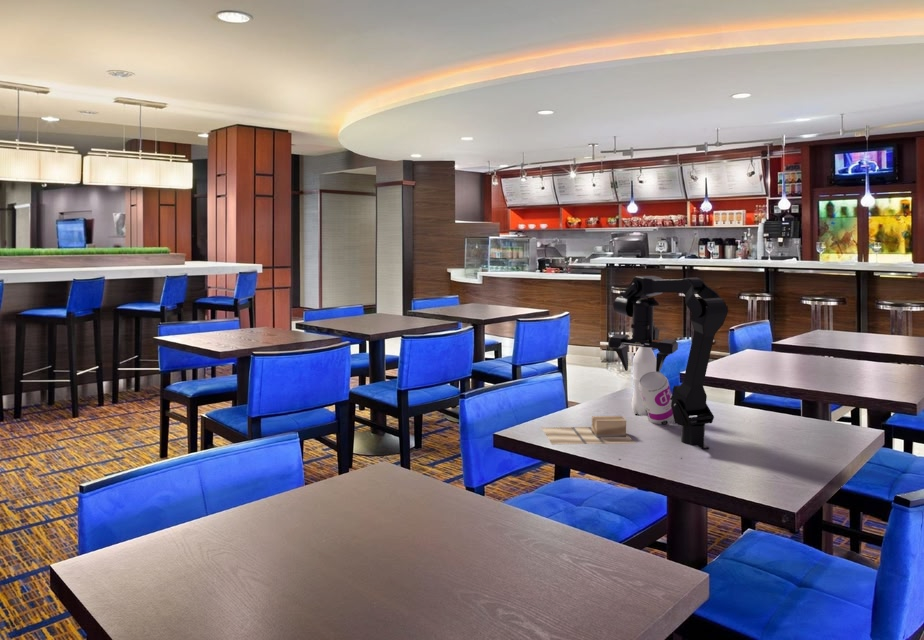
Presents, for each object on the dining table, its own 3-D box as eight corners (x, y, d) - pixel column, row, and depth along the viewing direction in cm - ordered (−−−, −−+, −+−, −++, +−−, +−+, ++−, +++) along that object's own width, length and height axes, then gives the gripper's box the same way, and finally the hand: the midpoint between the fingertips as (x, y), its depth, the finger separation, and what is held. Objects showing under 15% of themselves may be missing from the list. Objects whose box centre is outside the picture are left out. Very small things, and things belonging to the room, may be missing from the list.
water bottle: (657, 417, 206) (660, 336, 203) (634, 417, 206) (636, 336, 204) (651, 411, 213) (654, 333, 211) (629, 411, 213) (631, 333, 211)
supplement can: (683, 417, 195) (673, 378, 187) (660, 432, 193) (649, 393, 185) (664, 404, 201) (654, 366, 194) (642, 418, 200) (631, 380, 192)
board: (635, 447, 175) (635, 442, 175) (551, 448, 174) (551, 444, 174) (618, 430, 191) (618, 426, 191) (541, 431, 190) (541, 427, 190)
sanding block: (625, 436, 181) (626, 420, 180) (596, 437, 180) (596, 420, 180) (620, 431, 186) (620, 415, 185) (591, 432, 185) (592, 416, 185)
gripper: (684, 317, 194) (682, 369, 197) (621, 312, 204) (621, 362, 207) (672, 324, 185) (670, 379, 188) (607, 319, 195) (607, 371, 198)
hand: (641, 372), depth 195 cm, fingers open, 9 cm apart
